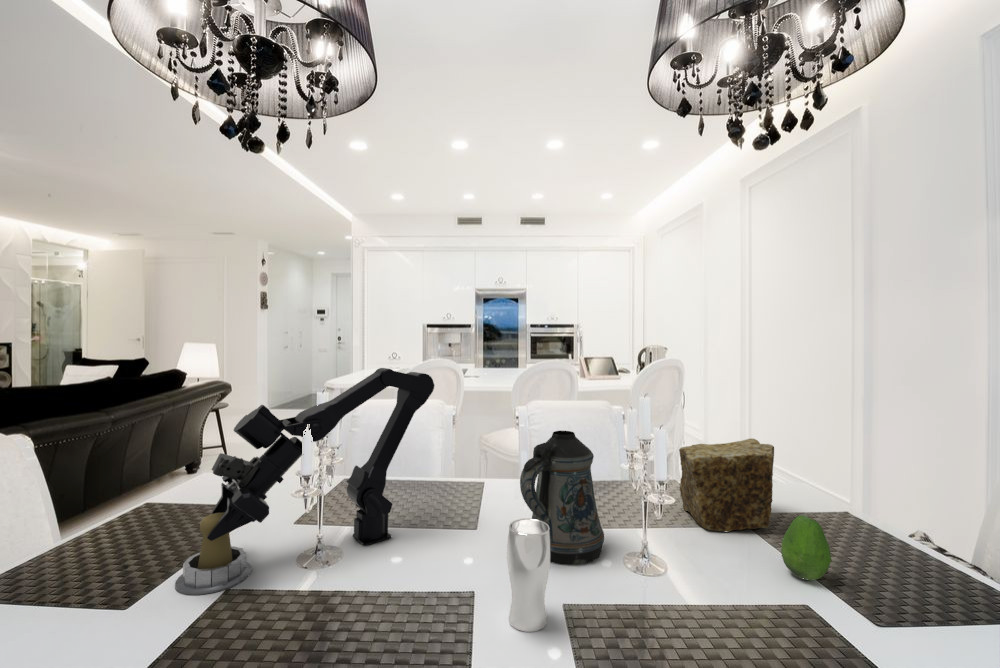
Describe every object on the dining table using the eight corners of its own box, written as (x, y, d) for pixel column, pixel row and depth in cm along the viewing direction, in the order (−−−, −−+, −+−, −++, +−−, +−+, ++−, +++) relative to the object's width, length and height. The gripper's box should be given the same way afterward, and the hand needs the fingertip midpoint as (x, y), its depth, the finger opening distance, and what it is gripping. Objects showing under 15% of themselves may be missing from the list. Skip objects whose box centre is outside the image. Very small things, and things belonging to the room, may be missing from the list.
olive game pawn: (188, 584, 82) (190, 522, 82) (205, 567, 88) (206, 509, 88) (225, 582, 83) (227, 520, 83) (239, 565, 89) (240, 508, 89)
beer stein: (611, 540, 104) (612, 429, 104) (590, 580, 86) (592, 447, 86) (541, 526, 111) (543, 422, 111) (509, 561, 93) (511, 437, 93)
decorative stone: (688, 447, 109) (672, 431, 129) (689, 533, 109) (672, 504, 129) (786, 450, 106) (754, 434, 125) (788, 539, 105) (755, 509, 125)
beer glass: (504, 608, 77) (505, 518, 77) (545, 607, 77) (546, 517, 78) (508, 635, 70) (510, 535, 70) (553, 633, 70) (555, 535, 71)
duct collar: (243, 555, 94) (244, 538, 94) (258, 579, 85) (259, 560, 85) (171, 574, 86) (172, 555, 86) (179, 603, 77) (180, 582, 77)
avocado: (818, 593, 83) (818, 526, 83) (773, 574, 90) (773, 512, 90) (838, 581, 87) (838, 518, 88) (794, 564, 94) (794, 505, 94)
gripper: (235, 429, 95) (168, 493, 89) (250, 447, 80) (170, 525, 74) (276, 462, 100) (215, 525, 93) (297, 484, 85) (226, 561, 78)
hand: (207, 532), depth 84 cm, fingers open, 6 cm apart
